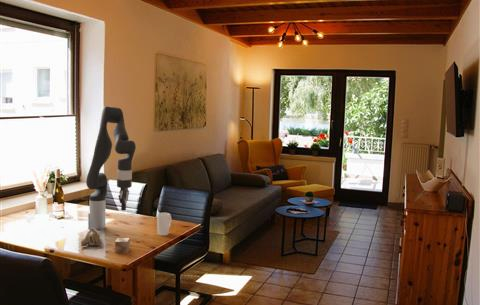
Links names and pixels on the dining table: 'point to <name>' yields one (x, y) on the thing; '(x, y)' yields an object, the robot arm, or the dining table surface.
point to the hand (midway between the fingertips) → (123, 210)
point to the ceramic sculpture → (92, 238)
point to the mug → (163, 223)
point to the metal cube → (122, 245)
